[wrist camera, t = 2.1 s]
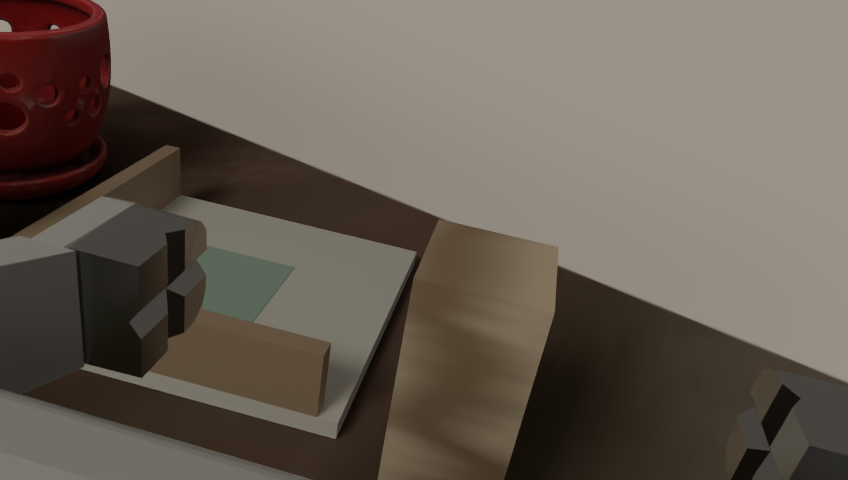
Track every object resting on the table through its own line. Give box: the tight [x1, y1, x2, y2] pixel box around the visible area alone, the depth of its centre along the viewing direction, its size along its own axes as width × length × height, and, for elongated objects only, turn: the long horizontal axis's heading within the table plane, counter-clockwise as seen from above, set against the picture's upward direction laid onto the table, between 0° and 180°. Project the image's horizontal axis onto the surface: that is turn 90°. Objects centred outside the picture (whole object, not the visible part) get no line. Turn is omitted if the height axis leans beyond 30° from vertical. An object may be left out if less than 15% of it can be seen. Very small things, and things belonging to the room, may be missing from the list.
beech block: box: [378, 219, 558, 480], centre depth 26 cm, size 4×4×12 cm
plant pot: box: [0, 0, 111, 200], centre depth 45 cm, size 13×13×12 cm
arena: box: [9, 145, 417, 439], centre depth 38 cm, size 18×17×4 cm
